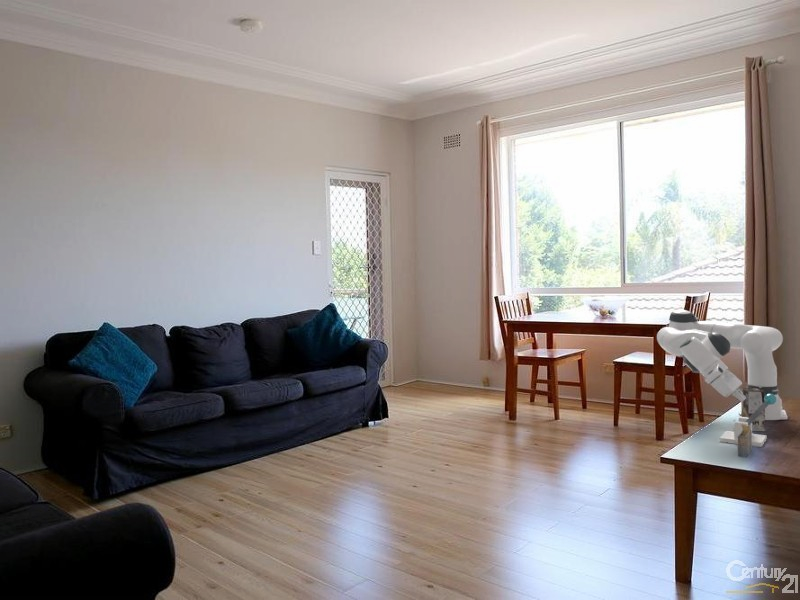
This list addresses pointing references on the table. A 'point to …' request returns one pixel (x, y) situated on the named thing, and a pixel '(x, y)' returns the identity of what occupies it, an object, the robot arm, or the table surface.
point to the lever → (762, 407)
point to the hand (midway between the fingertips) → (744, 400)
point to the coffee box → (753, 407)
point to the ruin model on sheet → (745, 441)
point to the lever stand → (733, 436)
